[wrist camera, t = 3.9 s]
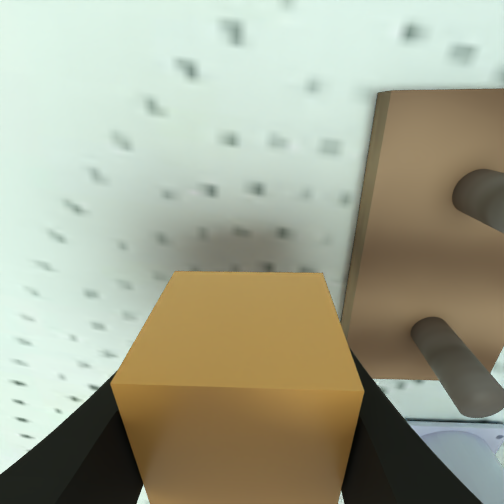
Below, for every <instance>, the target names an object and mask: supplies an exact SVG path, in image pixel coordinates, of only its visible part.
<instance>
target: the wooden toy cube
mask: <svg viewBox="0 0 504 504" xmlns="http://www.w3.org/2000/svg"><path fill="white" fill-rule="evenodd" d="M110 385H111V388H112V391H113V394H114V397H115V400H116V403H117V406H118V409H119V412H120V415H121V418H122V421H123V424H124V427H125V430H126V433H127V436H128V439H129V442H130V445H131V448H132V451H133V454H134V457H135V460H136V463H137V466H138V469H139V472H140V475H141V478H142V481H143V484H144V487H145V490H146V493H147V496H148V499H149V502H150V504H338V500H339V496H340V492H341V488H342V484H343V479H344V475H345V471H346V467H347V463H348V458H349V454H350V450H351V446H352V441H353V437H354V433H355V429H356V425H357V420H358V416H359V412H360V408H361V403H362V399H363V395H364V389H363V386H362V383H361V380H360V377H359V375H358V372H357V369H356V366H355V363H354V360H353V358H352V355H351V352H350V349H349V346H348V343H347V341H346V338H345V335H344V332H343V329H342V326H341V324H340V321H339V318H338V315H337V312H336V309H335V307H334V304H333V301H332V298H331V295H330V293H329V290H328V287H327V284H326V281H325V278H324V276H323V273H293V272H208V271H175V272H174V273H173V275H172V277H171V279H170V280H169V282H168V284H167V286H166V287H165V289H164V291H163V293H162V294H161V296H160V298H159V300H158V301H157V303H156V305H155V307H154V308H153V310H152V312H151V313H150V315H149V317H148V319H147V320H146V322H145V324H144V326H143V327H142V329H141V331H140V333H139V334H138V336H137V338H136V340H135V341H134V343H133V345H132V347H131V348H130V350H129V352H128V353H127V355H126V357H125V359H124V360H123V362H122V364H121V366H120V367H119V369H118V371H117V373H116V374H115V376H114V378H113V380H112V381H111V383H110Z"/></svg>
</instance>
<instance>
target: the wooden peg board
mask: <svg viewBox="0 0 504 504" xmlns="http://www.w3.org/2000/svg"><path fill="white" fill-rule="evenodd" d="M341 326H342V329H343V332H344V335H345V338H346V341H347V343H348V346H349V347H350V349H351V350H352V351H353V353H354V354H355V356H356V357H357V358H358V360H359V361H360V363H361V364H362V365H363V367H364V368H365V370H366V371H367V372H368V374H369V375H370V376H371V378H372V379H408V380H439V381H440V382H441V384H442V385H443V387H444V388H445V390H446V392H447V393H448V395H449V396H450V398H451V399H452V401H453V402H454V404H455V405H456V407H457V409H458V410H459V412H460V413H461V414H462V415H464V416H467V417H471V418H483V417H488V416H491V415H493V414H496V413H498V412H499V411H501V410H502V409H503V408H504V389H503V388H502V387H501V385H500V384H499V383H498V382H497V381H496V380H495V378H494V377H493V376H492V375H491V374H490V372H491V370H492V368H493V366H494V364H495V362H496V360H497V358H498V356H499V354H500V352H501V351H502V349H503V347H504V89H451V90H391V91H385V92H379V93H378V95H377V102H376V108H375V114H374V120H373V126H372V133H371V139H370V145H369V151H368V158H367V164H366V170H365V176H364V182H363V189H362V195H361V201H360V207H359V214H358V220H357V226H356V232H355V239H354V245H353V251H352V257H351V263H350V270H349V276H348V282H347V288H346V295H345V301H344V307H343V313H342V319H341Z"/></svg>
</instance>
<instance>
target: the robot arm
mask: <svg viewBox="0 0 504 504" xmlns="http://www.w3.org/2000/svg"><path fill="white" fill-rule="evenodd" d="M349 349H350V347H349ZM350 352H351V355H352V358H353V360H354V363H355V366H356V369H357V372H358V375H359V377H360V380H361V383H362V386H363V389H364V395H363V399H362V403H361V408H360V412H359V416H358V420H357V425H356V429H355V433H354V437H353V441H352V446H351V450H350V454H349V458H348V463H347V467H346V471H345V475H344V479H343V484H342V488H341V491H342V495H343V499H344V503H345V504H504V468H503V466H502V465H501V463H500V462H499V460H498V459H497V457H496V456H495V454H496V452H497V451H498V449H499V447H500V446H501V444H502V443H503V441H504V425H503V424H483V423H452V422H421V421H406V420H405V419H404V418H403V417H402V416H401V414H400V413H399V412H398V411H397V409H396V408H395V407H394V406H393V404H392V403H391V402H390V401H389V399H388V398H387V397H386V396H385V394H384V393H383V392H382V391H381V389H380V388H379V387H378V386H377V384H376V383H375V382H374V380H373V379H372V378H371V376H370V375H369V374H368V372H367V371H366V370H365V368H364V367H363V365H362V364H361V363H360V361H359V360H358V358H357V357H356V356H355V354H354V353H353V351H352V350H351V349H350ZM117 371H118V370H117ZM117 371H116V372H115V373H114V374H113V375H112V376H111V377H110V378H109V379H108V380H107V381H106V382H105V383H104V384H103V385H102V386H101V387H100V388H99V389H98V390H97V391H96V392H95V393H94V394H93V395H92V396H91V397H90V398H89V399H88V400H87V401H86V402H85V403H83V404H82V405H81V406H80V407H79V408H78V409H77V410H76V411H75V412H74V413H72V414H71V415H70V416H69V417H68V418H67V419H66V420H65V421H64V422H63V423H62V424H60V425H59V426H58V427H57V428H56V429H55V430H54V431H53V432H51V433H50V434H49V435H48V436H47V437H46V438H44V439H43V440H42V441H41V442H40V443H39V444H37V445H36V446H35V447H34V448H33V449H31V450H30V451H29V452H28V453H26V454H25V455H24V456H23V457H22V458H20V459H19V460H18V461H17V462H15V463H14V464H13V465H12V466H10V467H9V468H8V469H7V470H5V471H4V472H3V473H2V474H0V504H137V500H138V498H139V495H140V492H141V489H142V486H143V481H142V478H141V475H140V472H139V469H138V466H137V463H136V460H135V457H134V454H133V451H132V448H131V445H130V442H129V439H128V436H127V433H126V430H125V427H124V424H123V421H122V418H121V415H120V412H119V409H118V406H117V403H116V400H115V397H114V394H113V391H112V388H111V385H110V383H111V381H112V380H113V378H114V376H115V374H116V373H117Z"/></svg>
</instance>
